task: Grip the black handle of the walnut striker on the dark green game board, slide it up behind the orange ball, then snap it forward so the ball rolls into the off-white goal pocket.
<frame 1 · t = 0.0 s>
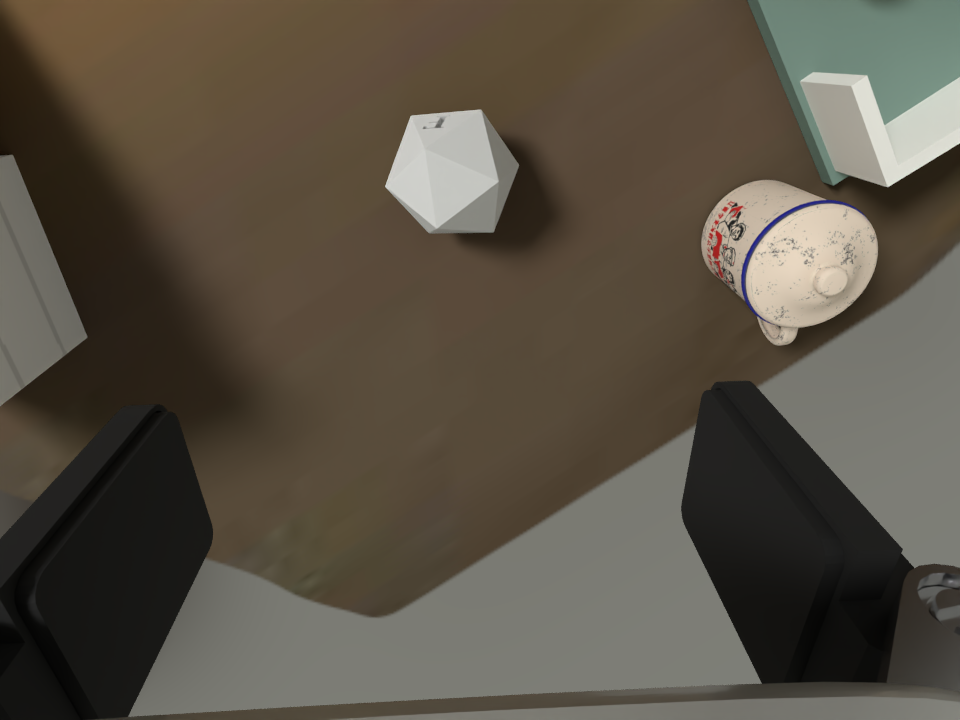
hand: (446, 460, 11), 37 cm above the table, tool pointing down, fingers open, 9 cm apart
die: (453, 165, 44), on the table
teacup with lid: (750, 249, 48), on the table
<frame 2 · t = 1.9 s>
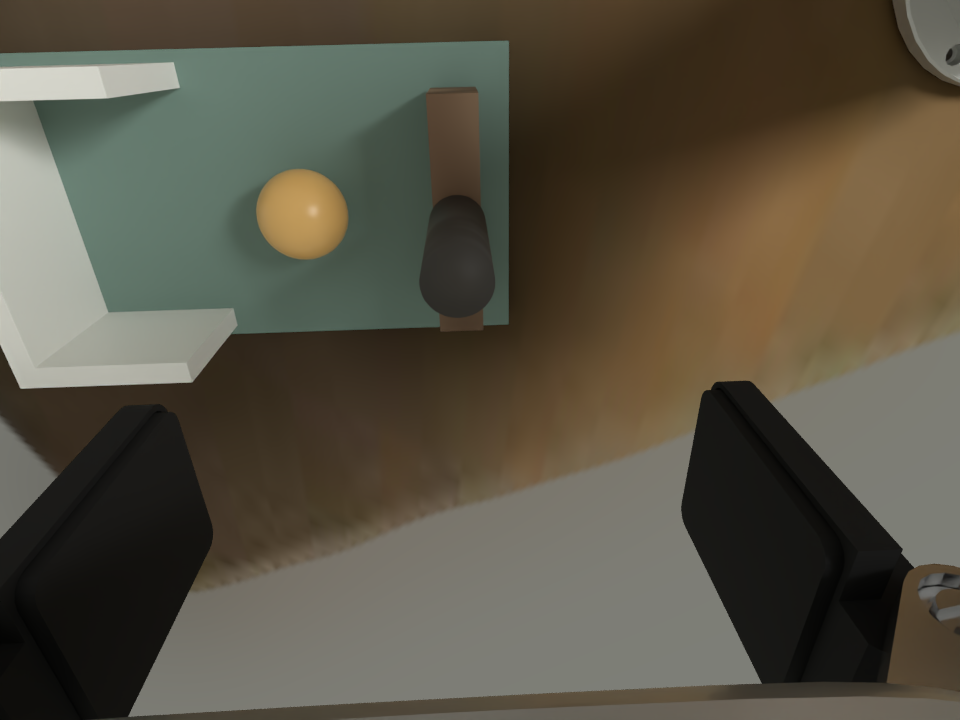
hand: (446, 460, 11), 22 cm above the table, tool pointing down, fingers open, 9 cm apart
ball: (303, 215, 26), point 3 cm above the table, touching game board
game board: (279, 198, 29), on the table
striker: (457, 233, 23), point 7 cm above the table, slide at 0.0 cm
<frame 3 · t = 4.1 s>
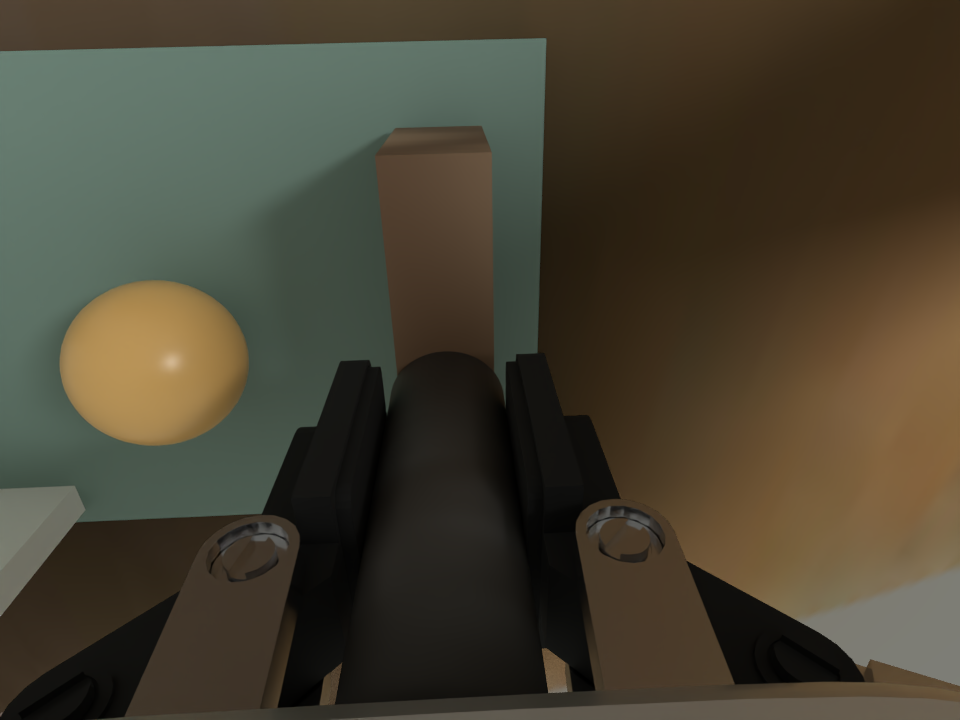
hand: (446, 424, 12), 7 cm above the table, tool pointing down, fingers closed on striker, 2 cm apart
ball: (160, 362, 14), point 3 cm above the table, touching game board
game board: (144, 309, 17), on the table
striker: (446, 443, 11), point 7 cm above the table, slide at 0.0 cm, touching gripper
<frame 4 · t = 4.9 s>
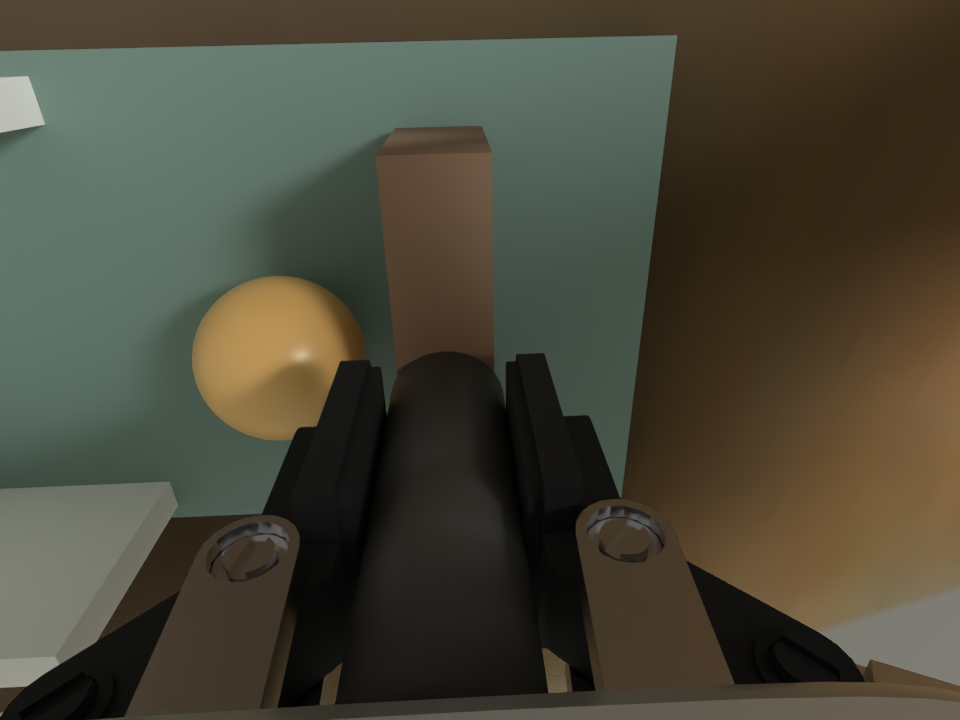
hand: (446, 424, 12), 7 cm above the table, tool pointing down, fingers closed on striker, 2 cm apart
ball: (283, 358, 14), point 3 cm above the table, touching game board
game board: (245, 305, 17), on the table
striker: (447, 443, 11), point 7 cm above the table, slide at 3.0 cm, touching gripper
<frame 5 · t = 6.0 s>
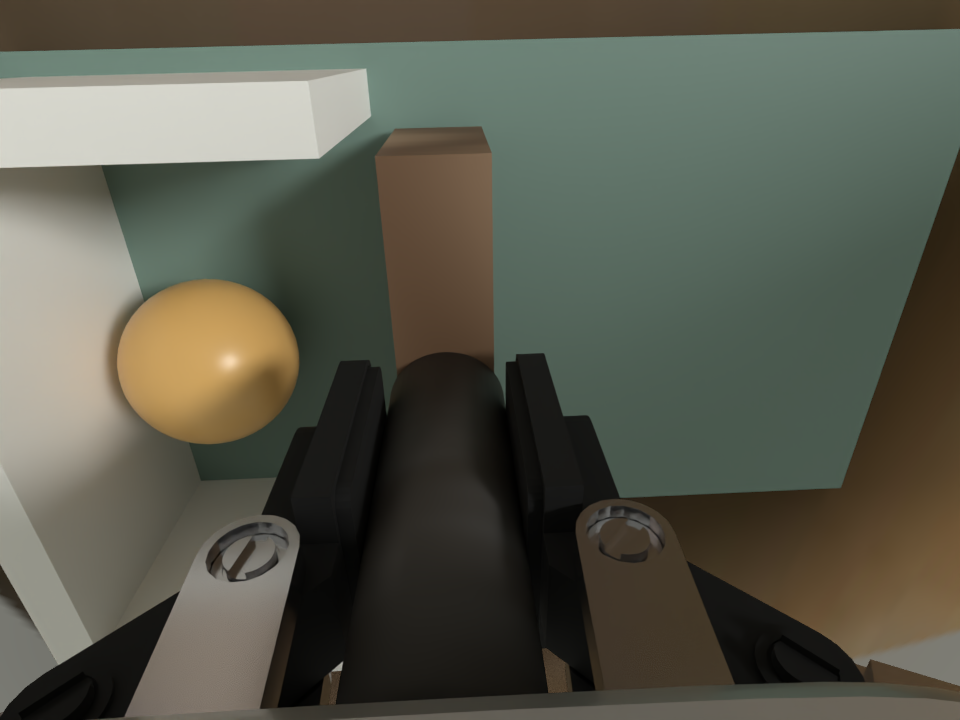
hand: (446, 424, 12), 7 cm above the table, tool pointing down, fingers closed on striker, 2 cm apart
ball: (213, 361, 14), point 3 cm above the table, tilted 112°, touching game board
game board: (496, 297, 17), on the table
striker: (446, 444, 11), point 7 cm above the table, slide at 10.4 cm, touching gripper
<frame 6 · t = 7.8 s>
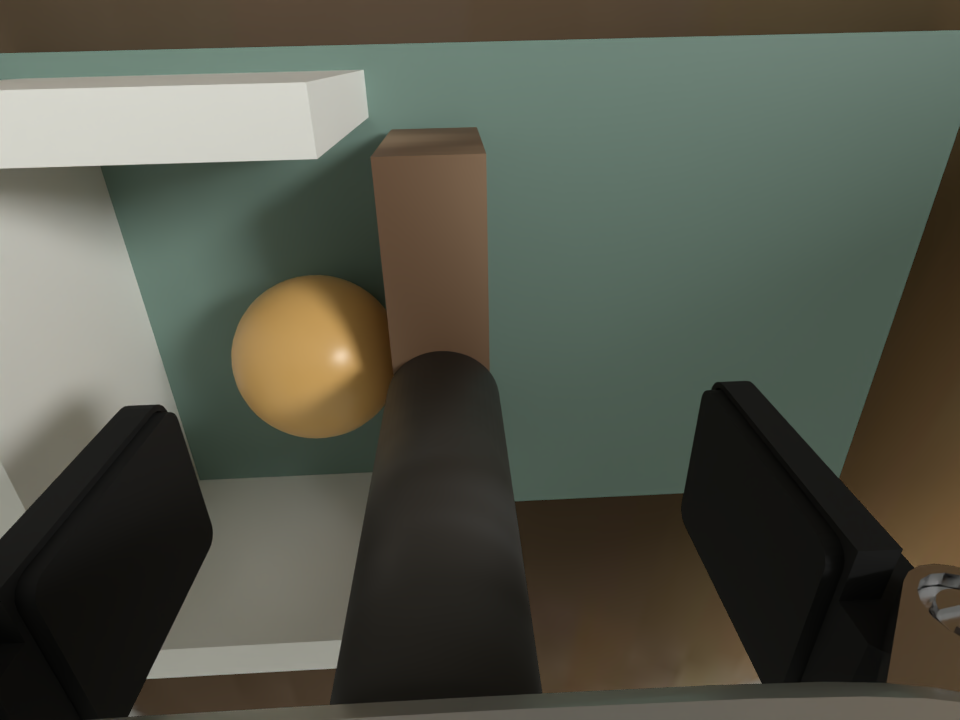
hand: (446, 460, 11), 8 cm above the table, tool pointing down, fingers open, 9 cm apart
ball: (319, 356, 14), point 3 cm above the table, tilted 173°, touching game board
game board: (493, 296, 18), on the table
striker: (442, 442, 11), point 7 cm above the table, slide at 10.5 cm
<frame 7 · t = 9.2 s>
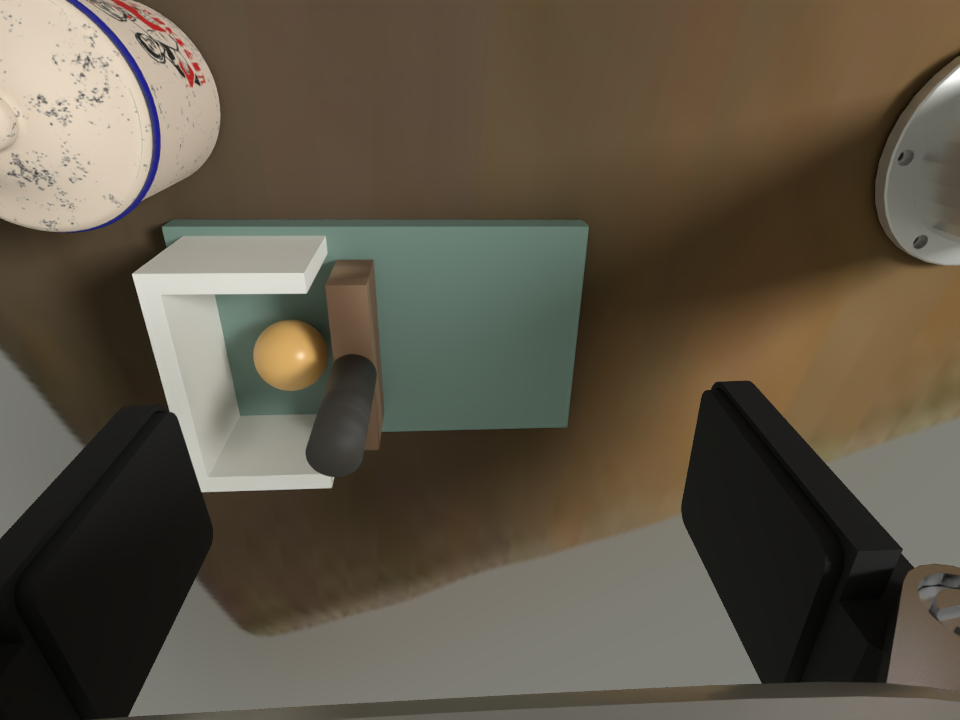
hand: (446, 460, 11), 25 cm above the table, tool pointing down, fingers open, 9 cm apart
ball: (291, 355, 33), point 3 cm above the table, tilted 167°, touching game board
game board: (389, 327, 36), on the table
striker: (350, 388, 30), point 7 cm above the table, slide at 10.5 cm
teacup with lid: (104, 82, 29), on the table
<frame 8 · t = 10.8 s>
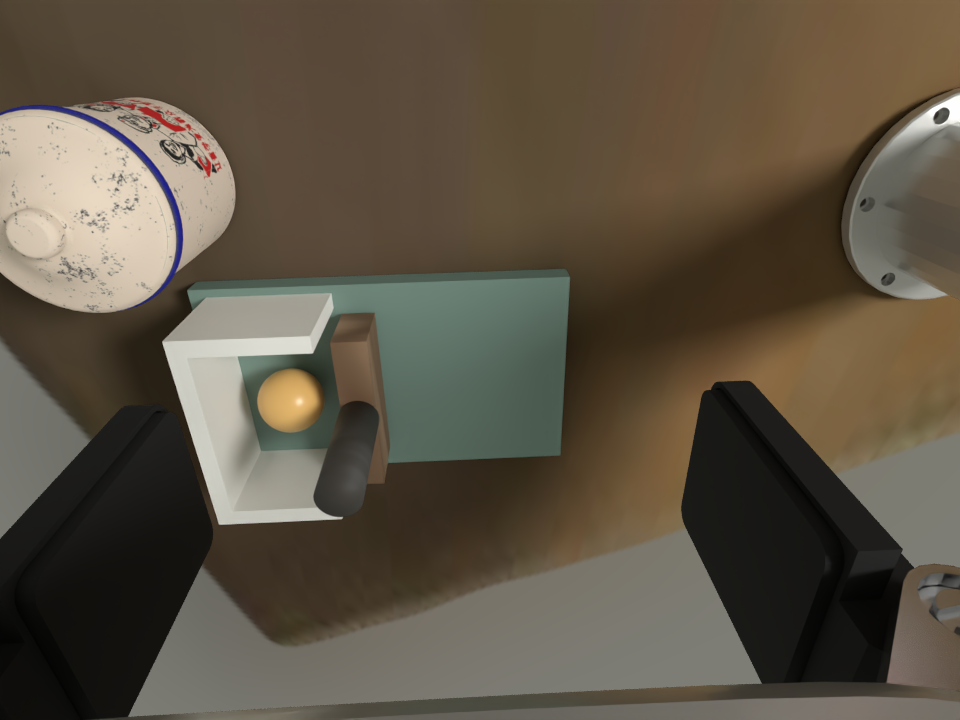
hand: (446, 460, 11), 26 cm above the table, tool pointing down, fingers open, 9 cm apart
ball: (291, 400, 36), point 3 cm above the table, tilted 145°, touching game board
game board: (392, 369, 39), on the table
striker: (355, 432, 33), point 7 cm above the table, slide at 10.5 cm
teacup with lid: (134, 167, 33), on the table
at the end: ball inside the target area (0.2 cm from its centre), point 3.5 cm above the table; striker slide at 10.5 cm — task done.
